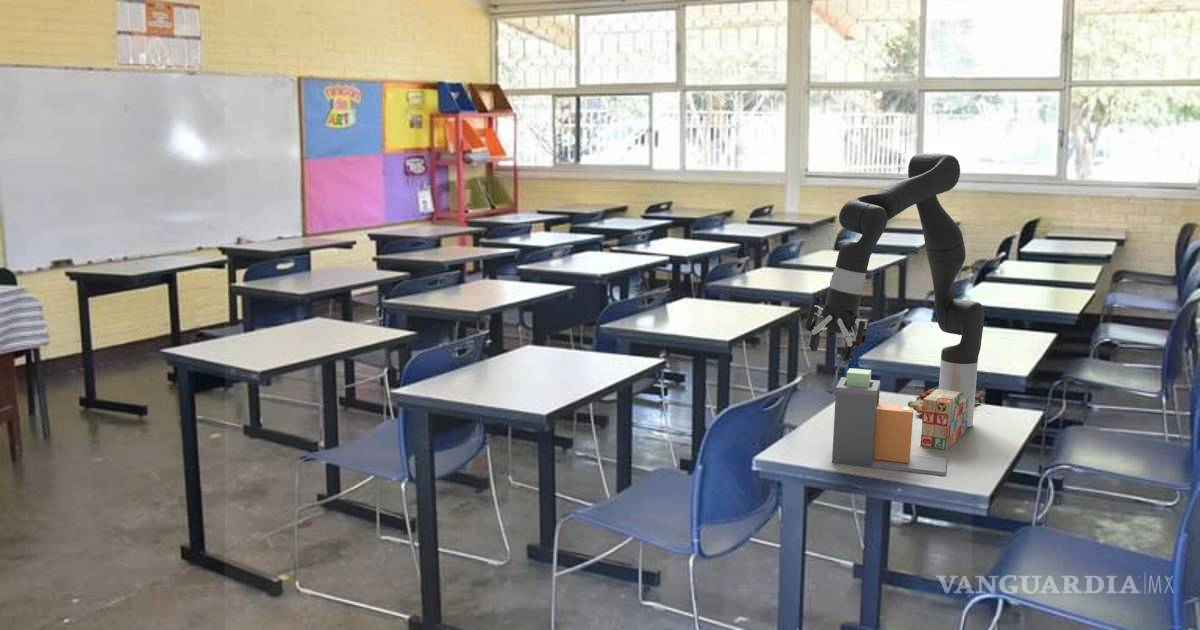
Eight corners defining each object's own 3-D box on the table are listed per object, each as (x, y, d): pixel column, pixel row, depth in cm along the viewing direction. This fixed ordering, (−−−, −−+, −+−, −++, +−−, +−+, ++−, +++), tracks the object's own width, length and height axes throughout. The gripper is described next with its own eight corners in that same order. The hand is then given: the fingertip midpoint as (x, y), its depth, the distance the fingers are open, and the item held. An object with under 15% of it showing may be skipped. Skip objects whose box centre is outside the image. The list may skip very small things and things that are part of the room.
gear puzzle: (951, 422, 275) (952, 408, 274) (892, 414, 284) (893, 399, 283) (985, 399, 299) (985, 385, 299) (929, 392, 309) (930, 378, 308)
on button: (848, 388, 243) (849, 368, 243) (870, 390, 242) (871, 370, 241) (845, 393, 239) (847, 372, 238) (868, 395, 237) (869, 374, 236)
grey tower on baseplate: (837, 449, 250) (841, 377, 247) (946, 461, 241) (951, 386, 238) (831, 462, 239) (836, 387, 236) (945, 475, 231) (951, 397, 228)
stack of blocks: (942, 427, 272) (945, 381, 270) (967, 430, 268) (970, 384, 266) (920, 446, 254) (923, 398, 252) (946, 450, 251) (949, 401, 249)
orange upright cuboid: (874, 453, 243) (877, 403, 241) (910, 457, 241) (913, 406, 239) (873, 459, 239) (876, 408, 237) (909, 463, 237) (912, 411, 235)
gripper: (881, 296, 235) (864, 364, 238) (826, 280, 244) (810, 346, 247) (866, 297, 229) (849, 366, 232) (811, 281, 238) (795, 348, 241)
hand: (829, 356), depth 240 cm, fingers open, 8 cm apart
